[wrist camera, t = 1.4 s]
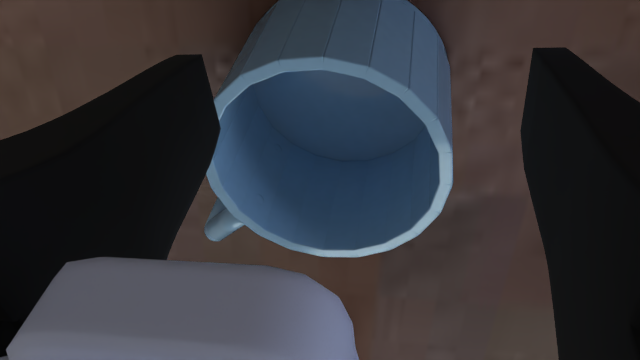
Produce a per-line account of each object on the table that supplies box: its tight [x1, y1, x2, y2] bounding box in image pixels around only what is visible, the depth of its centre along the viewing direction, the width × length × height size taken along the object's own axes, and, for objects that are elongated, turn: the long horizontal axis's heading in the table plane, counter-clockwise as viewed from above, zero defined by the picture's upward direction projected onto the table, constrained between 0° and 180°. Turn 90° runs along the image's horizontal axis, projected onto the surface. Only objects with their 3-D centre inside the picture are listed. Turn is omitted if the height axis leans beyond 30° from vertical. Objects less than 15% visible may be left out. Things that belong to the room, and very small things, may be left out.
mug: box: [204, 0, 453, 257], centre depth 22 cm, size 11×8×6 cm
